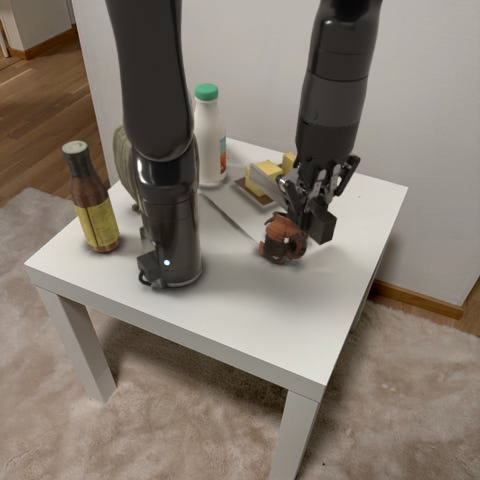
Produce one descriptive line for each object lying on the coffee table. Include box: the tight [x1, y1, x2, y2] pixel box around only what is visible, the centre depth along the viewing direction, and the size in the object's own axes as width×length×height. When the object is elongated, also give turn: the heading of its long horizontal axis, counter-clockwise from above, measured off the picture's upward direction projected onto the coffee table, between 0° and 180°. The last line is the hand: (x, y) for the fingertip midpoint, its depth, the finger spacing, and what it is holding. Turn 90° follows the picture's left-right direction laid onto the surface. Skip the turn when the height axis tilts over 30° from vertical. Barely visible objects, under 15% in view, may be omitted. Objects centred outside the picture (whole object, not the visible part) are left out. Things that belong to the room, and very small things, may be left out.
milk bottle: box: [193, 82, 227, 184], centre depth 93 cm, size 8×8×20 cm
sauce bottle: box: [61, 140, 121, 253], centre depth 78 cm, size 7×6×20 cm
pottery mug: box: [258, 211, 309, 264], centre depth 83 cm, size 12×10×8 cm
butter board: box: [233, 163, 297, 207], centre depth 99 cm, size 17×11×2 cm, turn 125°
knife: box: [249, 162, 338, 246], centre depth 68 cm, size 2×20×4 cm, turn 34°
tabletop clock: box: [112, 124, 200, 212], centre depth 83 cm, size 14×9×25 cm, turn 123°
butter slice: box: [281, 151, 297, 175], centre depth 98 cm, size 2×5×4 cm, turn 35°
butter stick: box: [245, 159, 283, 197], centre depth 95 cm, size 6×5×4 cm
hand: (309, 225), depth 66 cm, fingers closed on knife, 2 cm apart
